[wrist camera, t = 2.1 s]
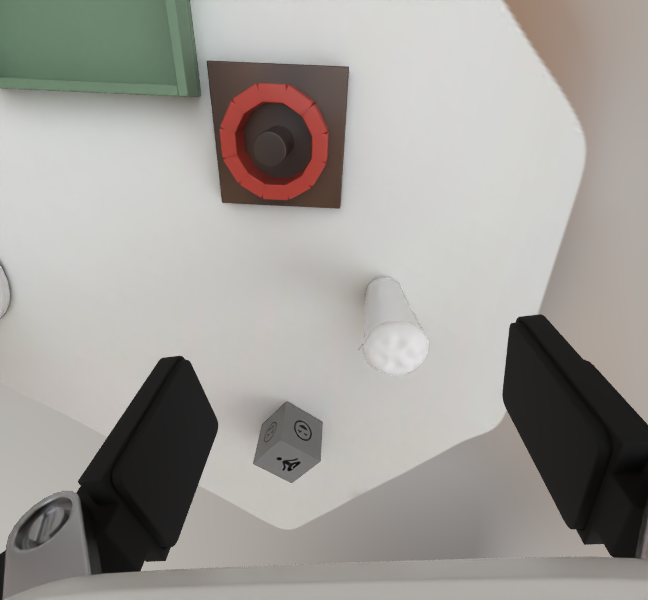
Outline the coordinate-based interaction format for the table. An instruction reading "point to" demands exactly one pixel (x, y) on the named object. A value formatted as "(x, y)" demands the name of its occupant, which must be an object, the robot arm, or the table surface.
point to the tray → (99, 46)
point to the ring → (239, 157)
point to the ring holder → (282, 128)
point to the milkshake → (392, 330)
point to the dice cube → (289, 443)
